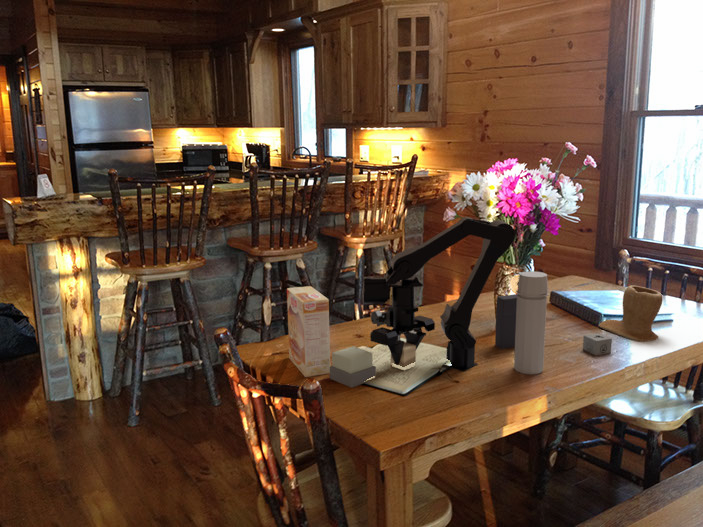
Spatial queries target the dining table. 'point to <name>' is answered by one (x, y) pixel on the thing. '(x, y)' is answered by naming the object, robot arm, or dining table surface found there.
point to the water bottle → (530, 322)
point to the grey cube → (597, 344)
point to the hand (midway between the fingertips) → (403, 361)
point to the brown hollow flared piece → (636, 314)
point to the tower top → (352, 359)
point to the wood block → (407, 355)
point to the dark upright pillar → (506, 321)
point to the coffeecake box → (308, 330)
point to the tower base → (352, 376)
